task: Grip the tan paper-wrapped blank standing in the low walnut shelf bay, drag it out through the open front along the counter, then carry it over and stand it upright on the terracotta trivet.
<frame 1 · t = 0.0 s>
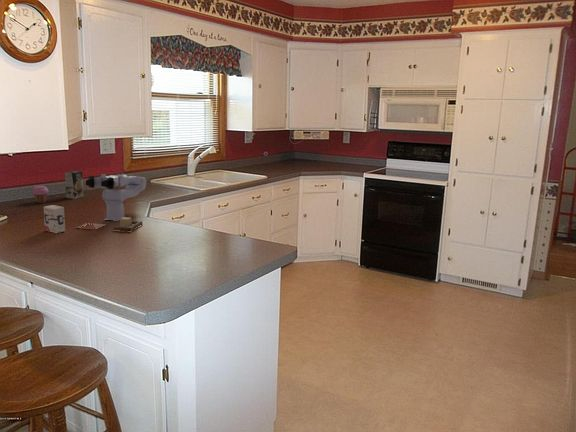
hand: (94, 183, 222), 22 cm above the countertop, tool horizontal, fingers open, 7 cm apart
ink box: (55, 232, 217), on the countertop
cupcake: (41, 202, 279), on the countertop
blank: (126, 228, 229), on the countertop
trivet: (91, 227, 228), on the countertop
shelf bay: (127, 228, 229), on the countertop
coffee box: (75, 197, 298), on the countertop
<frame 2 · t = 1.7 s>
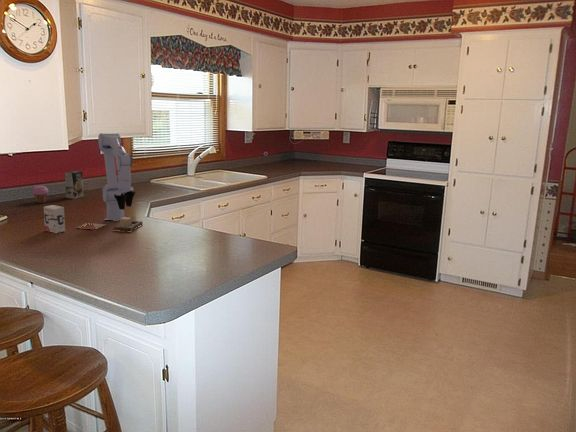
hand: (125, 207, 227), 10 cm above the countertop, tool pointing down, fingers open, 7 cm apart
nothing on the countertop moved.
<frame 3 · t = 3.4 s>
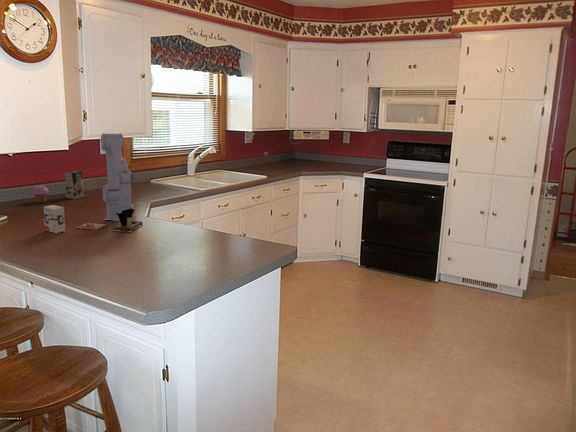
hand: (125, 224, 229), 2 cm above the countertop, tool pointing down, fingers closed on blank, 4 cm apart
blank: (126, 228, 229), on the countertop, touching gripper
everything else where it was.
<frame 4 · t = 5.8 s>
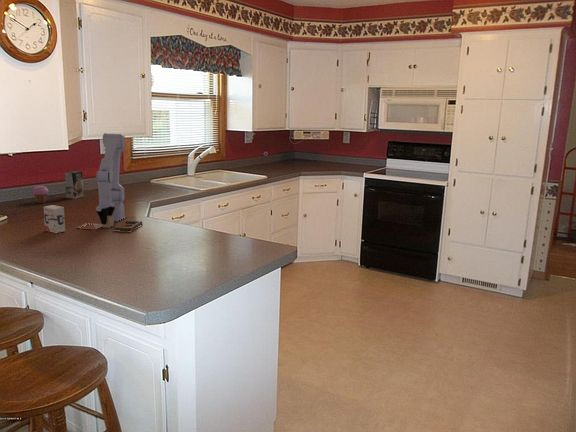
hand: (106, 222, 230), 2 cm above the countertop, tool pointing down, fingers closed on blank, 4 cm apart
blank: (108, 226, 230), on the countertop, touching gripper, trivet
everything else where it was.
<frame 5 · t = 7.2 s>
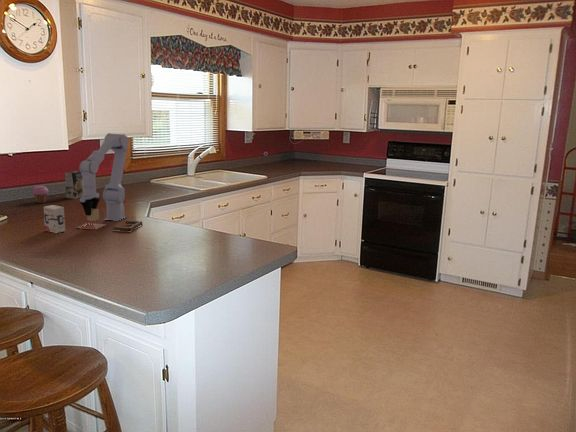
hand: (90, 214, 226), 6 cm above the countertop, tool pointing down, fingers closed on blank, 4 cm apart
blank: (93, 219, 227), point 4 cm above the countertop, touching gripper
everything else where it was.
when the fingers open (3 cm above the countertop, at t = 8.6 s): blank stays where it is, resting on trivet.
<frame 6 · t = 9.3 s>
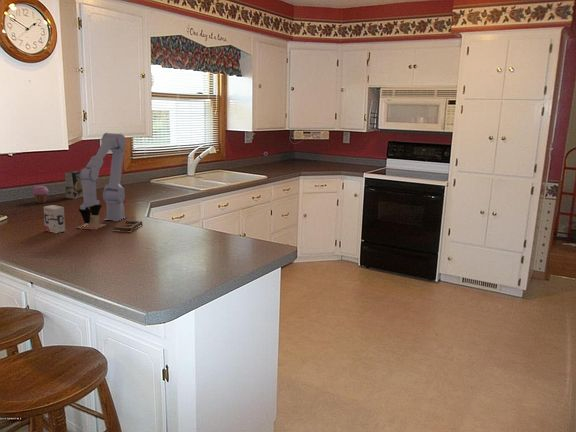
hand: (91, 221, 227), 3 cm above the countertop, tool pointing down, fingers open, 7 cm apart
blank: (93, 226, 228), point 1 cm above the countertop, touching trivet
everything else where it was.
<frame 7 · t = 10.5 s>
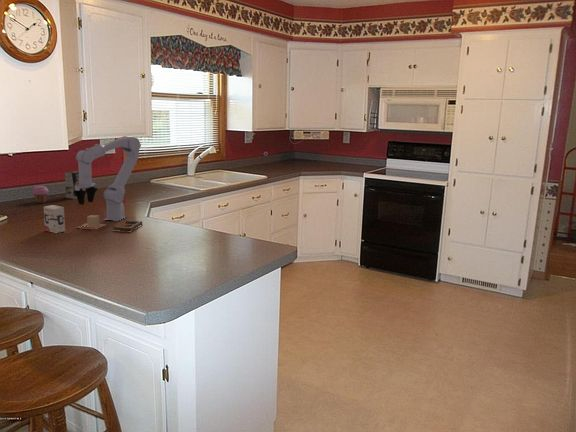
hand: (86, 203, 232), 10 cm above the countertop, tool pointing down, fingers open, 7 cm apart
nothing on the countertop moved.
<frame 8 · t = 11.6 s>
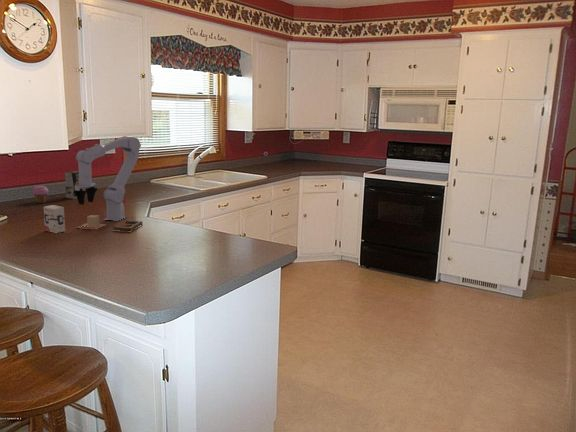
hand: (86, 203, 232), 10 cm above the countertop, tool pointing down, fingers open, 7 cm apart
nothing on the countertop moved.
at the end: blank inside the target area on the trivet (1.2 cm from its centre), point 0.6 cm above the trivet's base; blank tilted 0°; the gripper is holding nothing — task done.
